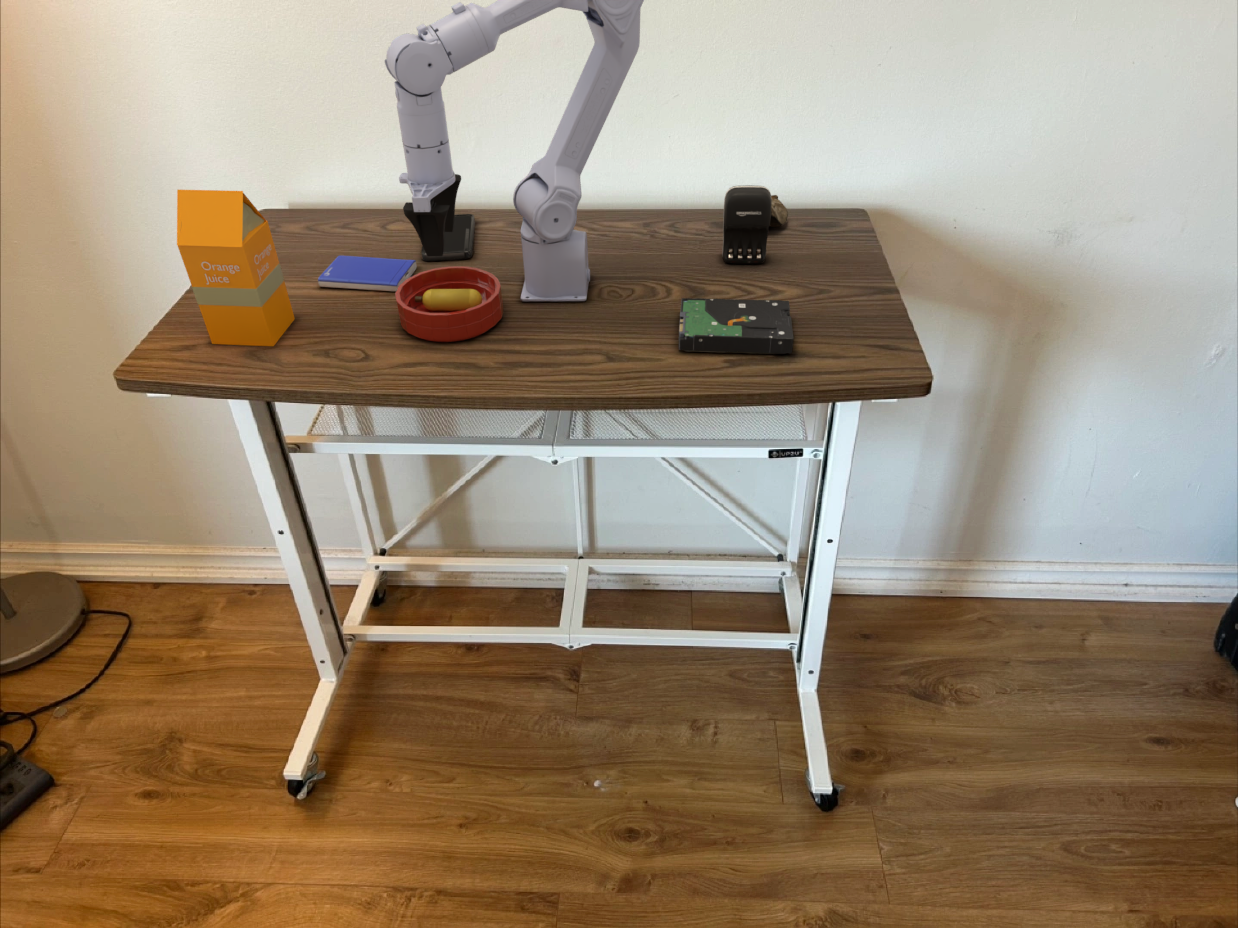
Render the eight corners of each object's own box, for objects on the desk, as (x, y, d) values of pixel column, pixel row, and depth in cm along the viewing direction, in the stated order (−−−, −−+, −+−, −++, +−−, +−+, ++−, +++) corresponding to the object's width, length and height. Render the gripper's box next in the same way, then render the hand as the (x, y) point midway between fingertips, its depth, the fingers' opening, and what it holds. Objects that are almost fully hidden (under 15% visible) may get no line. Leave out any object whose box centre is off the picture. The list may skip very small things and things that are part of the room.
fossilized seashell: (783, 199, 149) (724, 210, 150) (784, 174, 143) (722, 186, 144) (792, 237, 146) (731, 248, 147) (793, 213, 140) (730, 225, 141)
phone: (420, 255, 138) (428, 215, 149) (421, 261, 138) (429, 222, 150) (471, 252, 138) (475, 213, 150) (472, 258, 139) (475, 219, 151)
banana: (483, 314, 125) (484, 295, 126) (479, 303, 122) (480, 284, 123) (417, 314, 125) (419, 296, 126) (411, 303, 123) (413, 284, 124)
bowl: (509, 294, 130) (506, 265, 127) (495, 344, 119) (492, 314, 116) (413, 294, 130) (408, 266, 127) (390, 344, 119) (384, 315, 116)
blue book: (317, 278, 132) (396, 283, 130) (339, 254, 138) (415, 258, 136) (319, 287, 133) (398, 293, 131) (341, 263, 139) (417, 267, 137)
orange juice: (236, 316, 126) (191, 177, 114) (295, 318, 125) (257, 179, 113) (210, 344, 120) (160, 201, 108) (273, 347, 119) (230, 203, 107)
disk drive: (786, 317, 123) (679, 314, 124) (789, 299, 121) (680, 296, 122) (792, 357, 115) (677, 353, 116) (795, 338, 113) (678, 334, 114)
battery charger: (721, 266, 135) (725, 194, 128) (720, 255, 138) (724, 184, 131) (767, 267, 135) (774, 194, 128) (765, 255, 138) (772, 184, 131)
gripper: (406, 122, 117) (421, 220, 125) (380, 161, 106) (399, 266, 114) (459, 122, 117) (471, 220, 125) (439, 161, 106) (454, 266, 114)
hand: (440, 242), depth 120 cm, fingers open, 7 cm apart
